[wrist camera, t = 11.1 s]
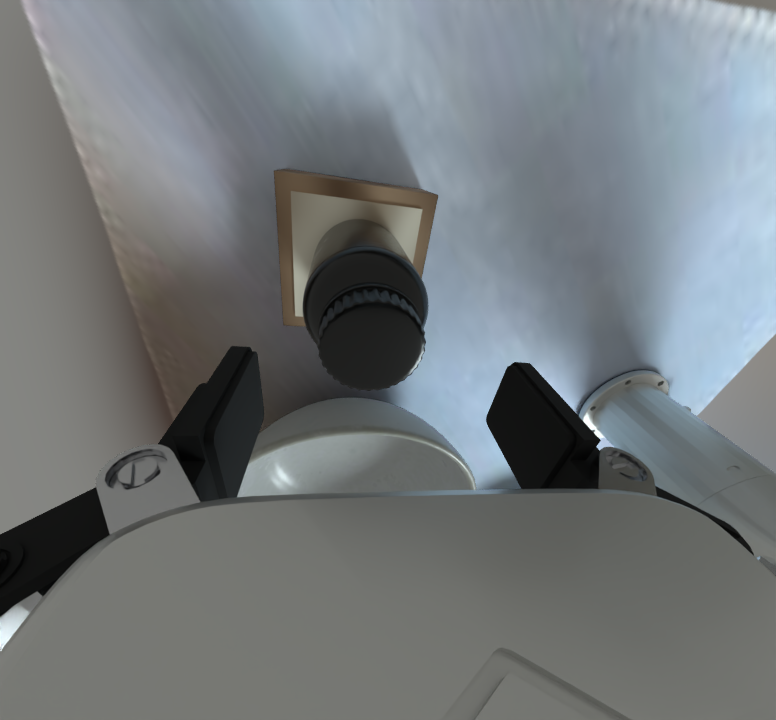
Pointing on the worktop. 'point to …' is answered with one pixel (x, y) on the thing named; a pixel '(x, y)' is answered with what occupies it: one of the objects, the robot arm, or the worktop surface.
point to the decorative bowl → (352, 452)
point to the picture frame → (332, 206)
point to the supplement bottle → (365, 306)
